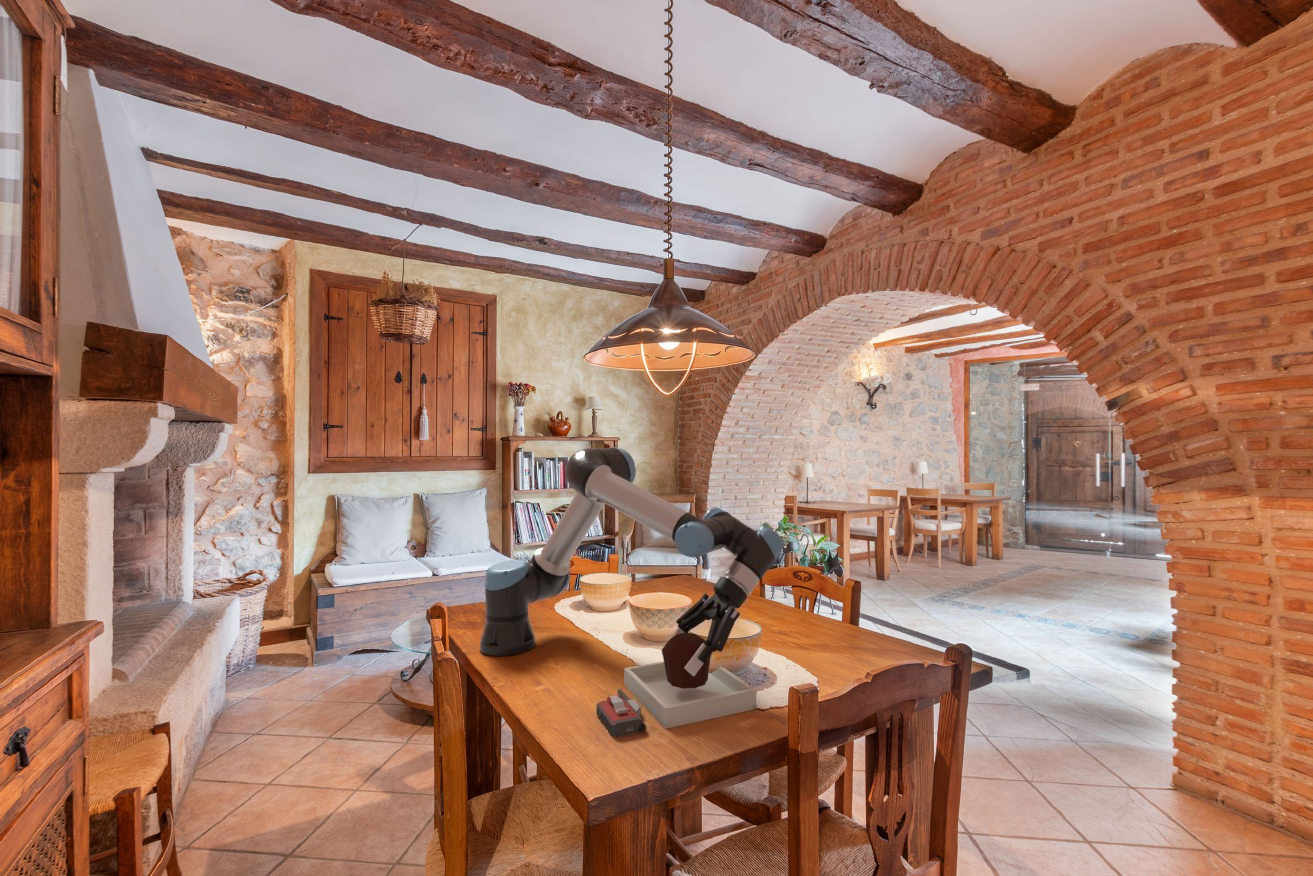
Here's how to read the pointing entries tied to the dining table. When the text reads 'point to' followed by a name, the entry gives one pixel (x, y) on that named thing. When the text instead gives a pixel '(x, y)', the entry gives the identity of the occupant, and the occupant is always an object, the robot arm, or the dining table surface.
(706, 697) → the tray
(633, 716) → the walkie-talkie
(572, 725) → the dining table surface
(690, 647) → the muffin
